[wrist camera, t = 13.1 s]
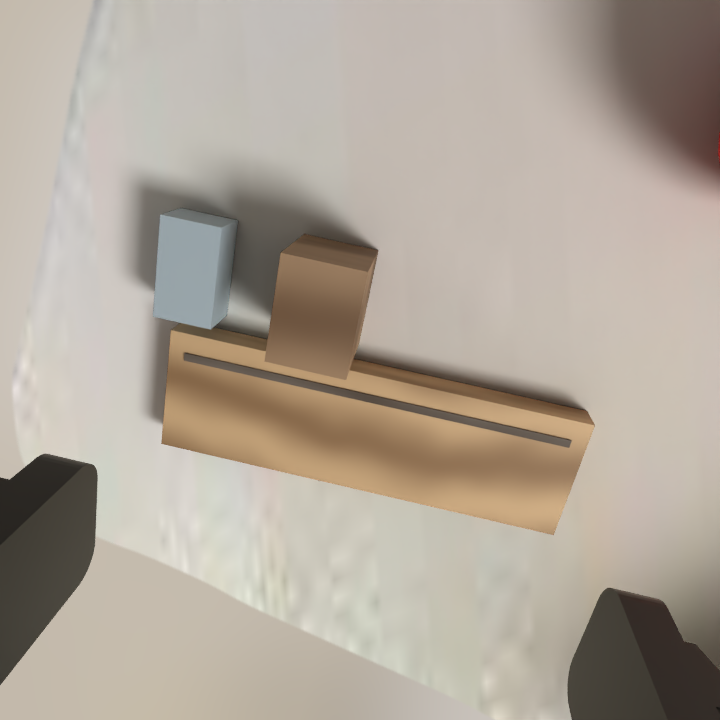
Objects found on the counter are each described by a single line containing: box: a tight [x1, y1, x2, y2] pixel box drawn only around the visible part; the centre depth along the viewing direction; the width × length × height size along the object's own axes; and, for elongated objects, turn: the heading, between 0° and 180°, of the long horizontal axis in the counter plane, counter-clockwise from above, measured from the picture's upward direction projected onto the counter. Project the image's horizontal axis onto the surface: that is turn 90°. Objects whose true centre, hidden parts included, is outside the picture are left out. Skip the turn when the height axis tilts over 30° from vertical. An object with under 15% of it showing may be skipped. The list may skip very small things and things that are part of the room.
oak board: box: [161, 323, 595, 535], centre depth 39 cm, size 8×26×2 cm, turn 79°
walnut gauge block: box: [264, 234, 378, 380], centre depth 34 cm, size 6×4×6 cm
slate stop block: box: [153, 208, 238, 330], centre depth 36 cm, size 6×4×3 cm, turn 169°
